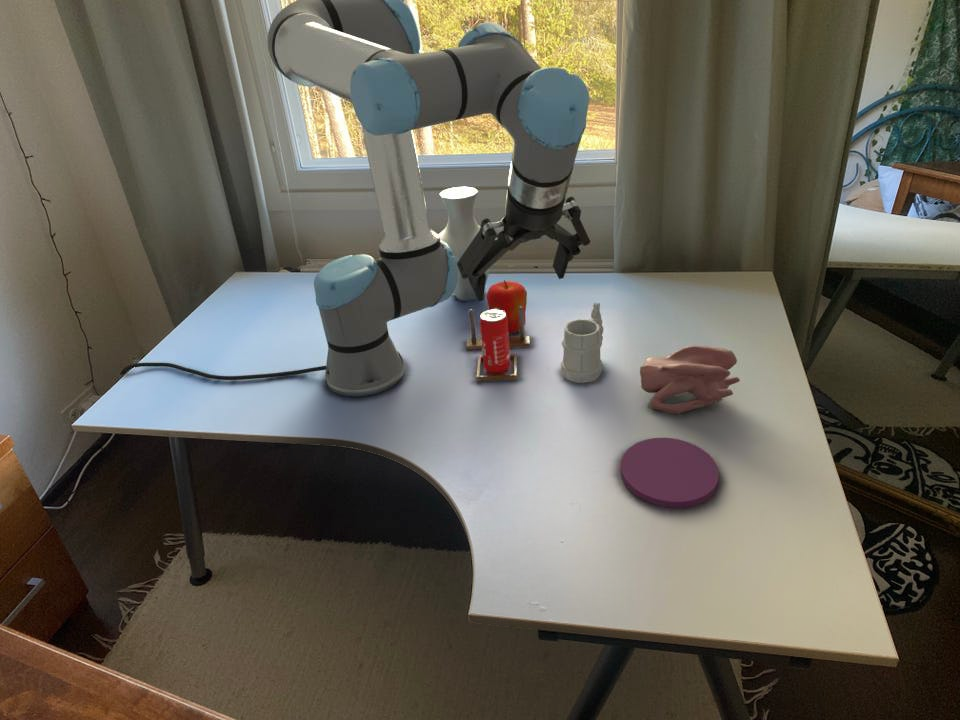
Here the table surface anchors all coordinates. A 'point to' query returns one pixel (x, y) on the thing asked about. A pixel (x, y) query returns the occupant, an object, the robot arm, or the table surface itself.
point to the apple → (508, 301)
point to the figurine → (689, 377)
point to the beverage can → (495, 341)
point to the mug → (583, 348)
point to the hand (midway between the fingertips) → (518, 283)
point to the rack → (513, 342)
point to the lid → (669, 472)
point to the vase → (460, 231)
